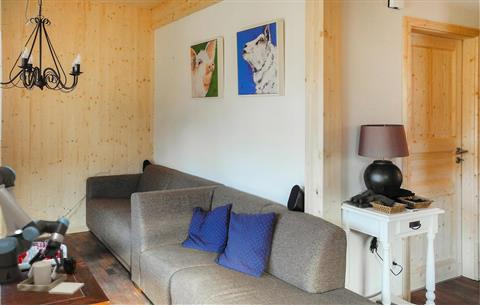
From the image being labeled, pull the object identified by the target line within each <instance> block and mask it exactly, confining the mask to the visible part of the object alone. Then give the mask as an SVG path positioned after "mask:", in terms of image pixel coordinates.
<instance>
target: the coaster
mask: <svg viewBox="0 0 480 305" xmlns="http://www.w3.org/2000/svg"><path fill="white" fill-rule="evenodd" d="M83 286H85V283H84V282H66V281H64V282H61V283H60V284H59V285H57V286H56V287H54V288H53V289H52V290H50V291H49V292H48V294H51V295H53V294H54V295H71V296H72V295H73V294H75V293H76V292H77V291H79V290H80V289H81V288H82V287H83Z"/></svg>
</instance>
